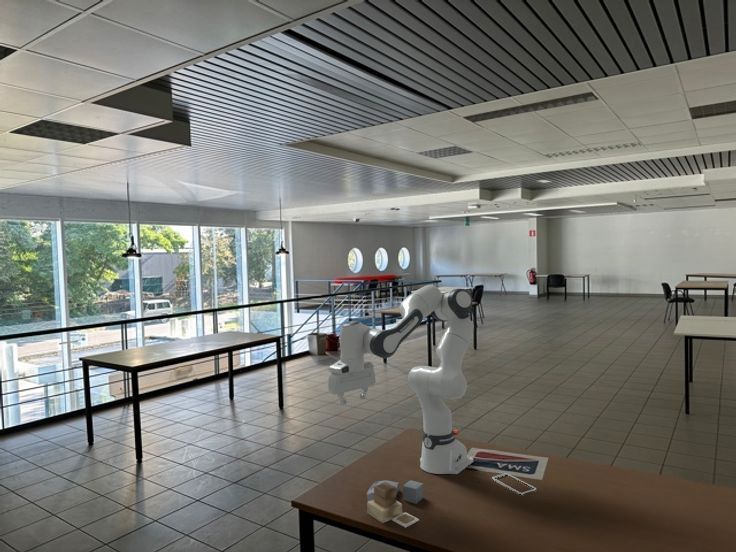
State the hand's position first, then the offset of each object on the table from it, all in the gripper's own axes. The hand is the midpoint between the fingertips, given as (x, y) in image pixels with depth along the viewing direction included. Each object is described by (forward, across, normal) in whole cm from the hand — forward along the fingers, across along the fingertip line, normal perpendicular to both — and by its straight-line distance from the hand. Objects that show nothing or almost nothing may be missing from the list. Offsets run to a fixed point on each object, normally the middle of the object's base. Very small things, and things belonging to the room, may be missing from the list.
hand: (353, 401), depth 182 cm
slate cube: (+29, -4, +26) cm, 39 cm away
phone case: (+30, -37, +44) cm, 65 cm away
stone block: (+30, +2, +17) cm, 34 cm away
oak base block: (+30, +10, +26) cm, 41 cm away
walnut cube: (+26, +9, +26) cm, 38 cm away
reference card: (+29, +8, +34) cm, 45 cm away
